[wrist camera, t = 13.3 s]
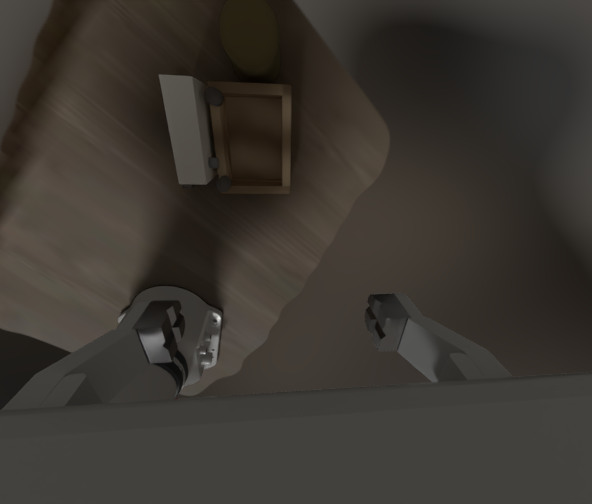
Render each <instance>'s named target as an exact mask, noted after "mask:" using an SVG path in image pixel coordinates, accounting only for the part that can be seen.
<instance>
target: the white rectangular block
mask: <svg viewBox="0 0 592 504" xmlns="http://www.w3.org/2000/svg"><path fill="white" fill-rule="evenodd" d="M159 80H160V85H161V90H162V96H163V101H164V107H165V112H166V117H167V123H168V128H169V133H170V139H171V144H172V150H173V155H174V160H175V166H176V171H177V176H178V182H179V184H199V185H207V184H208V183H209V182H210V181H211V180H212V179H213V178H214V177H215V176H217V175H218V169H217V168H219V159H218V158H216V152H215V144H214V135H213V127H212V119H211V111H210V104H209V103H208V102H207V101H206V100H205V97H204V92H205V90H206V89H207V88H208V86H207V85H206V84H204V83H203V82H201V81H199V80H198V79H196V78H194V77H192V76H178V75H160V74H159Z"/></svg>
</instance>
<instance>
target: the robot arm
mask: <svg viewBox="0 0 592 504" xmlns="http://www.w3.org/2000/svg"><path fill="white" fill-rule="evenodd" d="M368 304H369V307H368V308H367V309H366V312H365V323H366V326H367V329H368V331H370V332H371V333H372V334H373V337H372V340H373V342H374V344H375V346H376V348H377V350H378V351H398V353H399V354H401V355H402V356H403V357H404V358H405V359H407V360H408V361H409V362H410V363H411V364H412V365H413V366H414V367H416V368H417V369H418V370H419V371H420V372H421V373H423V374H424V375H425V376H426V377H427V378H429V379H430V380H431V381H432V382H429V383H414V384H398V385H382V386H367V387H352V388H336V389H321V390H306V391H291V392H276V393H260V394H246V395H245V394H244V395H229V396H214V397H199V398H184V399H178V398H175V397H176V396H177V395H178V393H179V392H180V390H181V389H182V388H183V386H187V385H190V384H193V383H195V382H197V381H198V380H199V379H200V378H201V376H202V373H203V370H204V369H207V368H210V367H212V366H214V365H216V363H217V360H218V353H219V344H220V335H221V326H222V316H223V314H222V312H221V311H220V310H218V309H216V308H214V307H211V306H209V305H207V304H206V303H205V302H204V301H203V300H202V299H201V298H199V297H198V296H197V295H195V294H193V293H192V292H190V291H187V290H185V289H182V288H178V287H173V286H157V287H152V288H149V289H147V290H144V291H143V292H141V293H140V294H139V295H137V297H136V298H135V299H134V301H133V303H132V305H131V306H130V308H129V309H127V310H125V311H124V312H122V313H121V314H120V316H119V318H118V322H119V325H118V326H117V328H116V330H111V331H109V332H108V333H106V334H104V335H103V336H101V337H99V338H97V339H96V340H94V341H92V342H91V343H89V344H87V345H85V346H84V347H82V348H80V349H78V350H77V351H75V352H73V353H72V354H70V355H68V356H66V357H65V358H63V359H61V360H60V361H58V362H56V363H54V364H53V365H51V366H49V367H48V368H46V369H44V370H42V371H41V372H39V373H37V374H35V375H34V377H32V378H31V380H30V381H29V382H28V383H27V384H26V385H25V386H24V387H23V388H22V389H21V390H20V391H19V392H18V393H17V394H16V395H15V396H14V397H13V398H12V399H11V401H10V402H9V403H8V404H7V405H6V406H5V407H4V408H3V409H2V410H0V504H592V372H583V373H567V374H552V375H537V376H521V377H513V376H512V375H511V374H510V373H509V372H508V371H507V370H506V369H505V368H504V367H503V366H502V365H501V364H500V363H499V362H498V361H497V359H496V358H495V357H494V356H493V355H492V354H491V353H490V352H489V351H488V350H486V349H484V348H483V347H481V346H479V345H477V344H475V343H474V342H472V341H470V340H468V339H466V338H464V337H462V336H460V335H459V334H457V333H455V332H453V331H451V330H450V329H448V328H446V327H444V326H442V325H440V324H438V323H437V322H435V321H433V320H431V319H429V318H428V317H423V316H422V314H421V313H420V312H419V311H418V309H417V308H416V307H415V306H414V304H413V303H412V302H411V300H410V299H409V298H408V297H407V295H406V294H404V293H392V294H371V295H370V296H369V297H368Z"/></svg>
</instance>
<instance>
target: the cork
mask: <svg viewBox="0 0 592 504" xmlns="http://www.w3.org/2000/svg"><path fill="white" fill-rule="evenodd" d="M219 32H220V39H221V42H222V45H223V47H224V50H225V52H226V53H227V55H228V56H229V57H230V59H231V60H232V66H233V68H234V70H235V73H236V75H237V76H238V77H239V79H240V80H241V81H242V82H243V83H266V84H271V83H272V82H273V81H274V80H275V79H276V77H277V75H278V73H279V71H280V66H281V55H280V50H279V47H278V44H279V26H278V23H277V19H276V16H275V14H274V12H273V10H272V9H271V7H270V6H269V4H268V3H267V2H266V1H265V0H227V2H226V3H225V4H224V6H223V9H222V12H221V14H220V22H219Z"/></svg>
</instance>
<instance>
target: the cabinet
mask: <svg viewBox="0 0 592 504" xmlns="http://www.w3.org/2000/svg"><path fill="white" fill-rule="evenodd" d="M207 86H208V88H207V89H206V90H205V92H204V97H205V100H206V101H207V102H208V103H209V104H210V111H211V119H212V127H213V135H214V144H215V152H216V158H218V159H219V168H217V169H218V177H219V179H218V180H217V182H216V188H217V189H218V190H219V191H220V194H290V164H291V92H292V85H289V84H266V83H243V82H219V81H207ZM195 185H197V184H183V188H193V187H194V186H195Z"/></svg>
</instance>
